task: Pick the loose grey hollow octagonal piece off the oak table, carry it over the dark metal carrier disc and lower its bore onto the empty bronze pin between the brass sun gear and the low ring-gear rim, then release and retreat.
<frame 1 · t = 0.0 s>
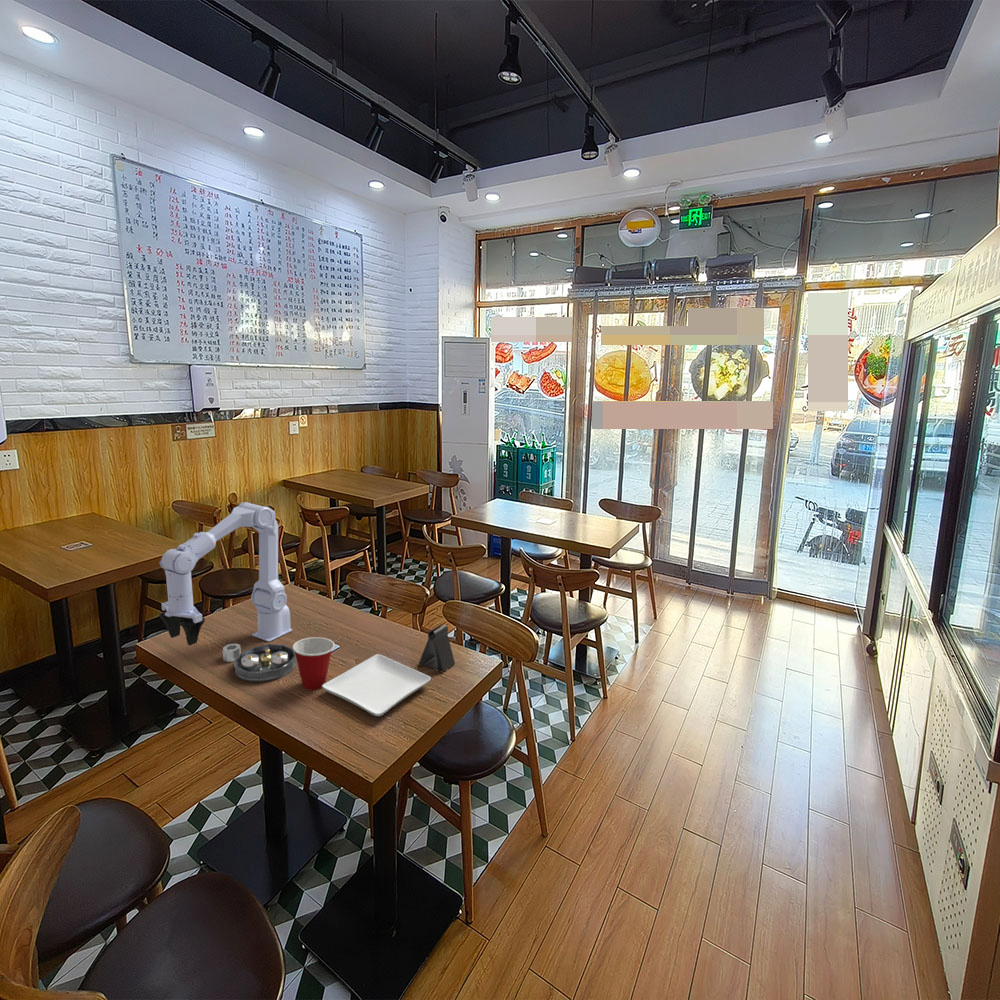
hand: (183, 639, 146), 10 cm above the table, fingers open, 7 cm apart
phone stand: (436, 665, 161), on the table
salad plate: (377, 692, 146), on the table
grey hollow octagonal piece: (232, 658, 157), on the table
plastic cup: (314, 684, 147), on the table
carrier: (266, 666, 154), on the table
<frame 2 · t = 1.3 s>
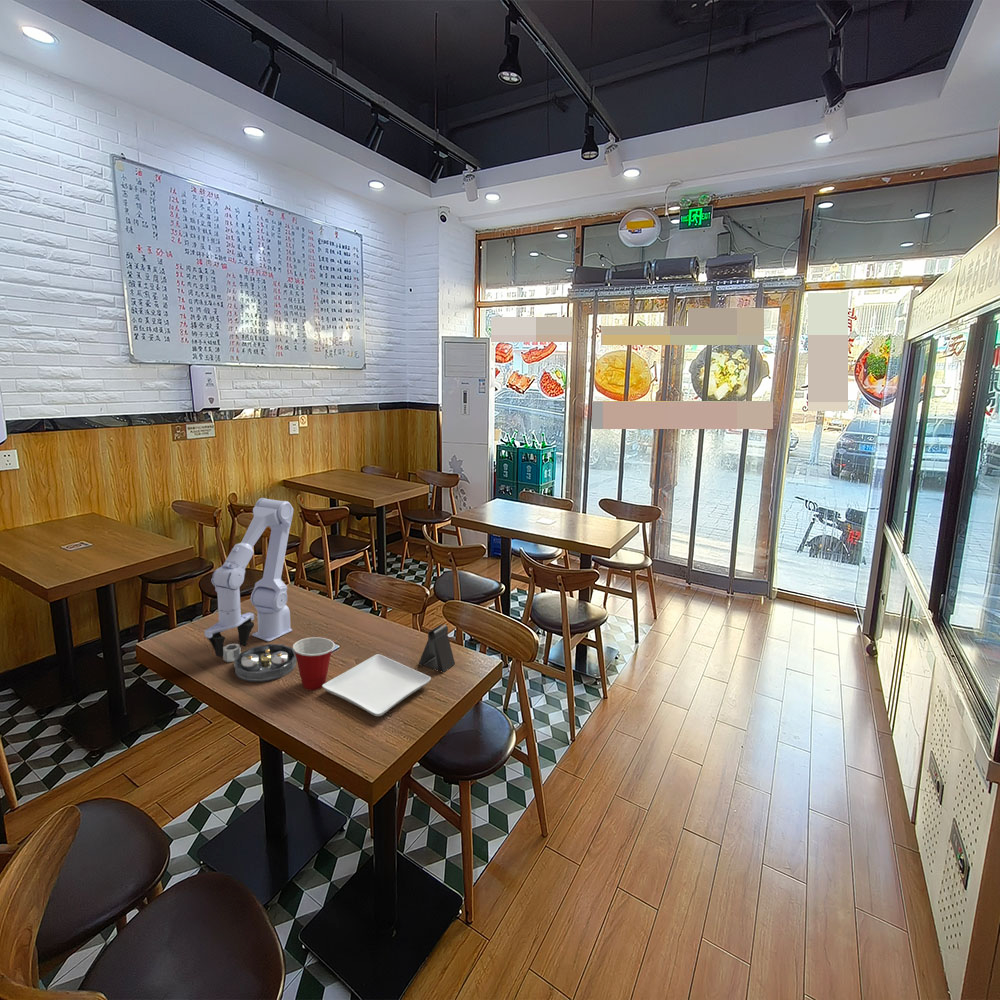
hand: (231, 650, 157), 2 cm above the table, fingers open, 7 cm apart
nothing on the table moved.
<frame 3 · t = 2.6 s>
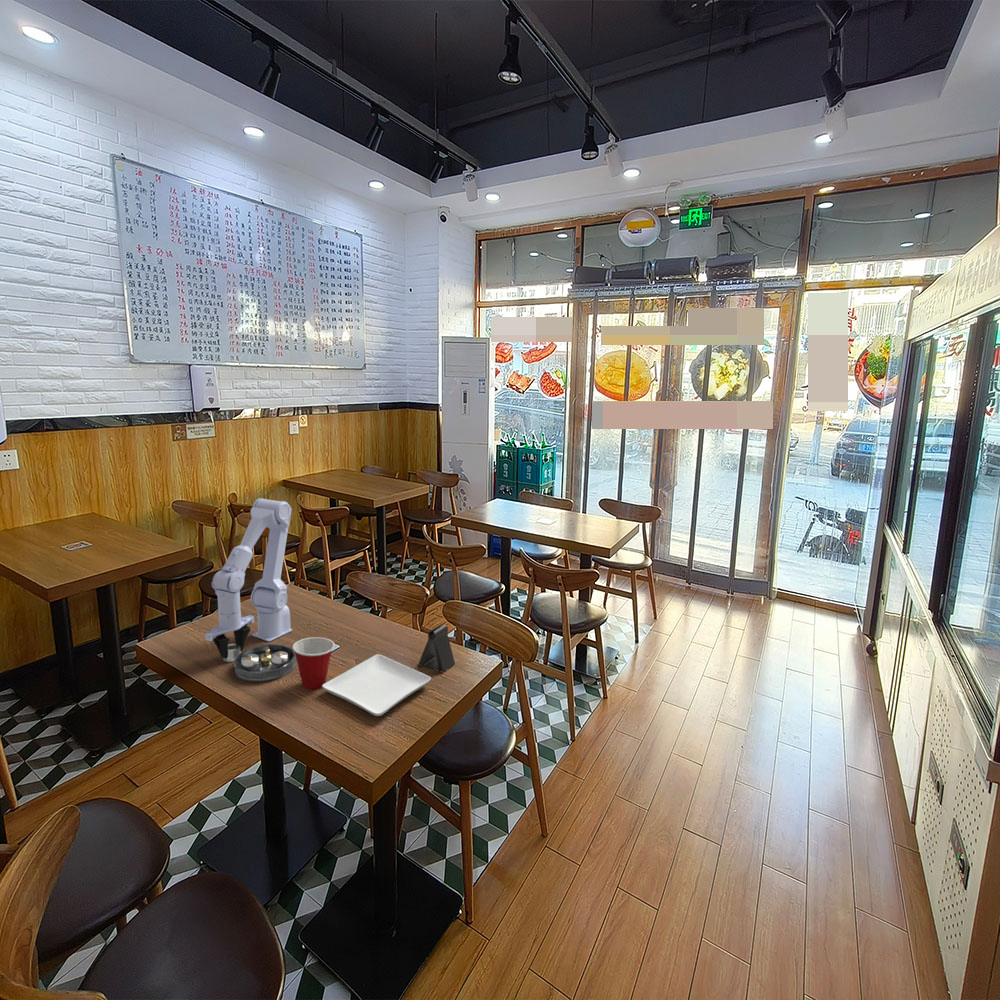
hand: (232, 653, 157), 1 cm above the table, fingers closed on grey hollow octagonal piece, 4 cm apart
grey hollow octagonal piece: (232, 658, 157), on the table, touching gripper
everything else where it was.
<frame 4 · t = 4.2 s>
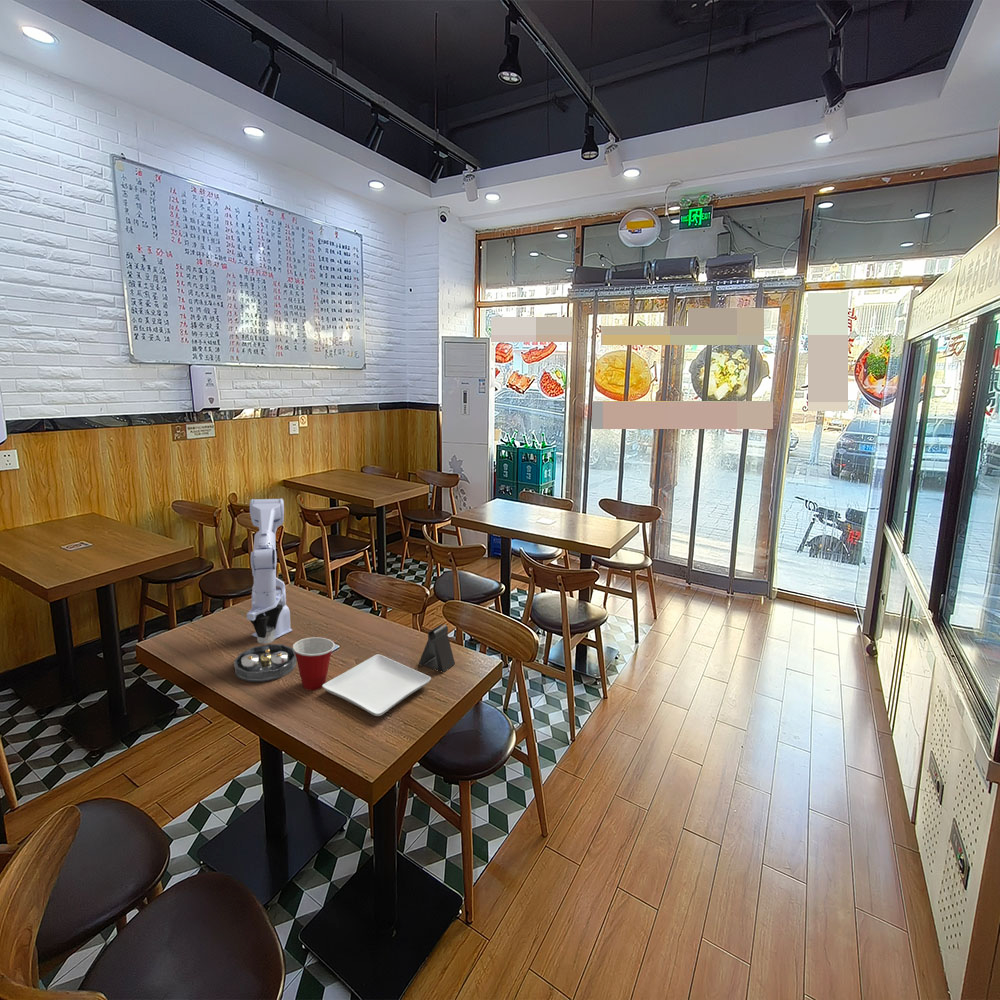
hand: (266, 633, 156), 8 cm above the table, fingers closed on grey hollow octagonal piece, 4 cm apart
grey hollow octagonal piece: (265, 639, 157), point 6 cm above the table, touching gripper
everything else where it was.
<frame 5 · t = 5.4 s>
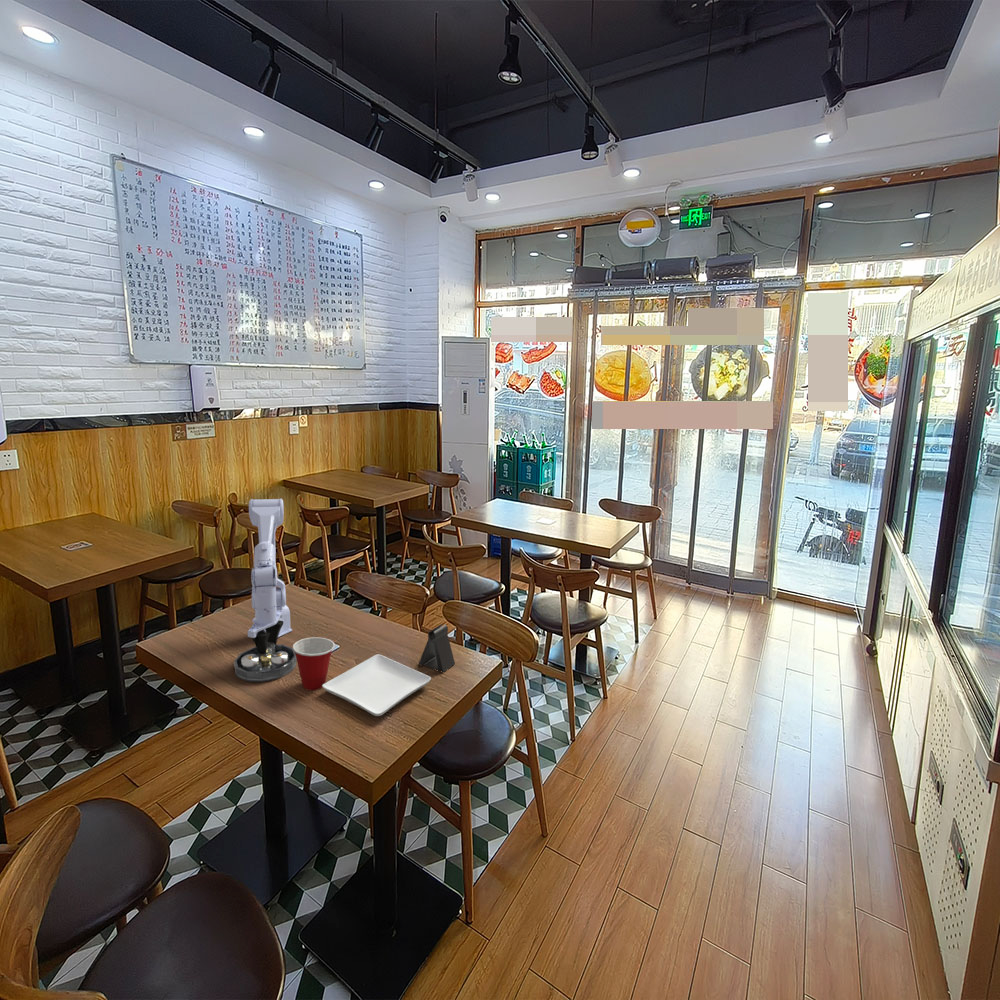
hand: (267, 649, 157), 3 cm above the table, fingers closed on grey hollow octagonal piece, 4 cm apart
grey hollow octagonal piece: (266, 655, 158), point 1 cm above the table, touching carrier, gripper
everything else where it was.
when the fingers open (3 cm above the table, at t = 6.2 s): grey hollow octagonal piece stays where it is, resting on carrier.
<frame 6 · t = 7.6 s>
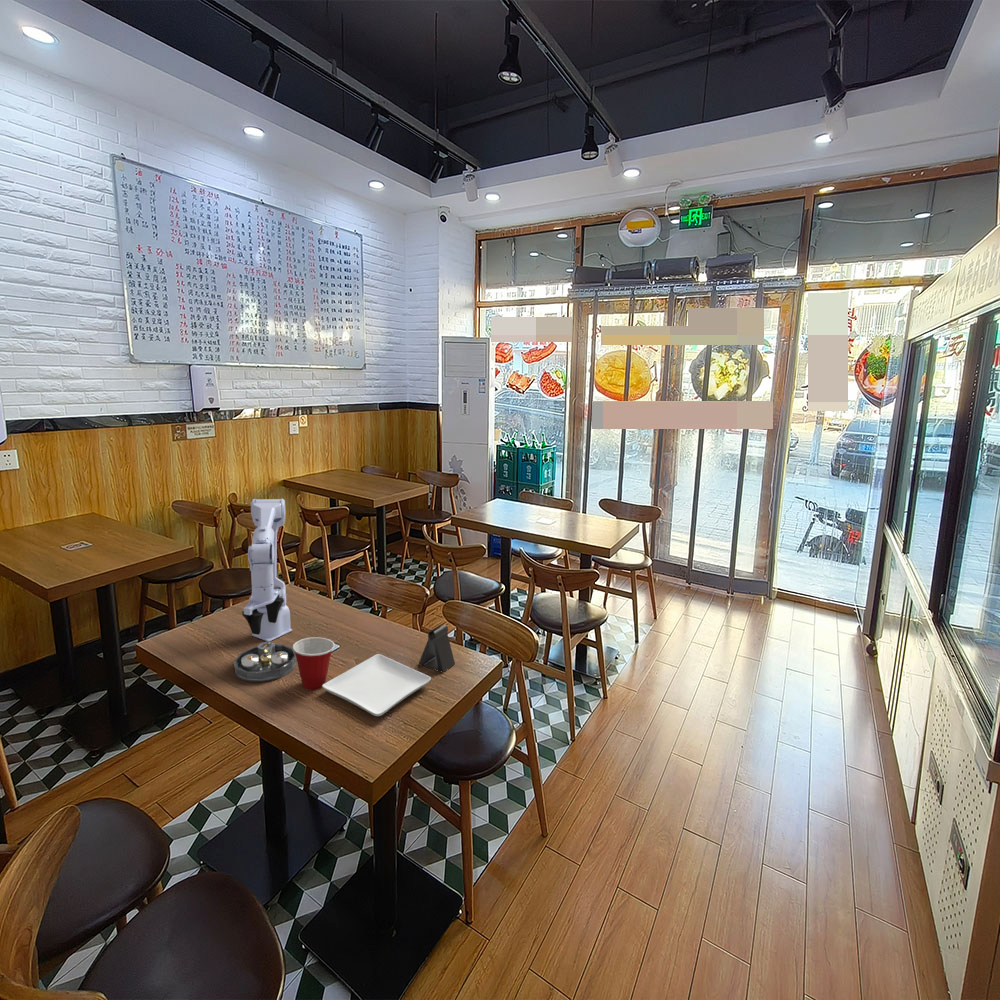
hand: (264, 627, 156), 10 cm above the table, fingers open, 7 cm apart
grey hollow octagonal piece: (266, 655, 158), point 1 cm above the table, touching carrier
everything else where it was.
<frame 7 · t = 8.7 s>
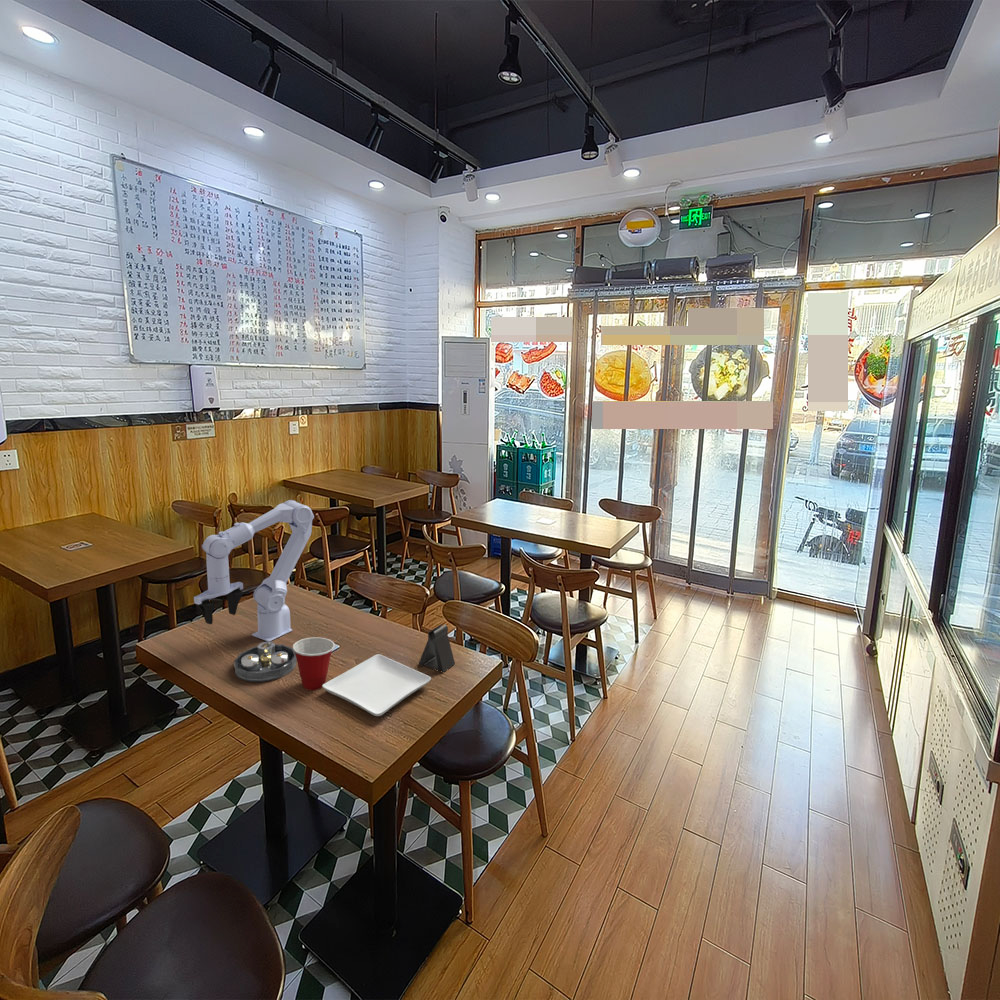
hand: (221, 618, 160), 10 cm above the table, fingers open, 7 cm apart
nothing on the table moved.
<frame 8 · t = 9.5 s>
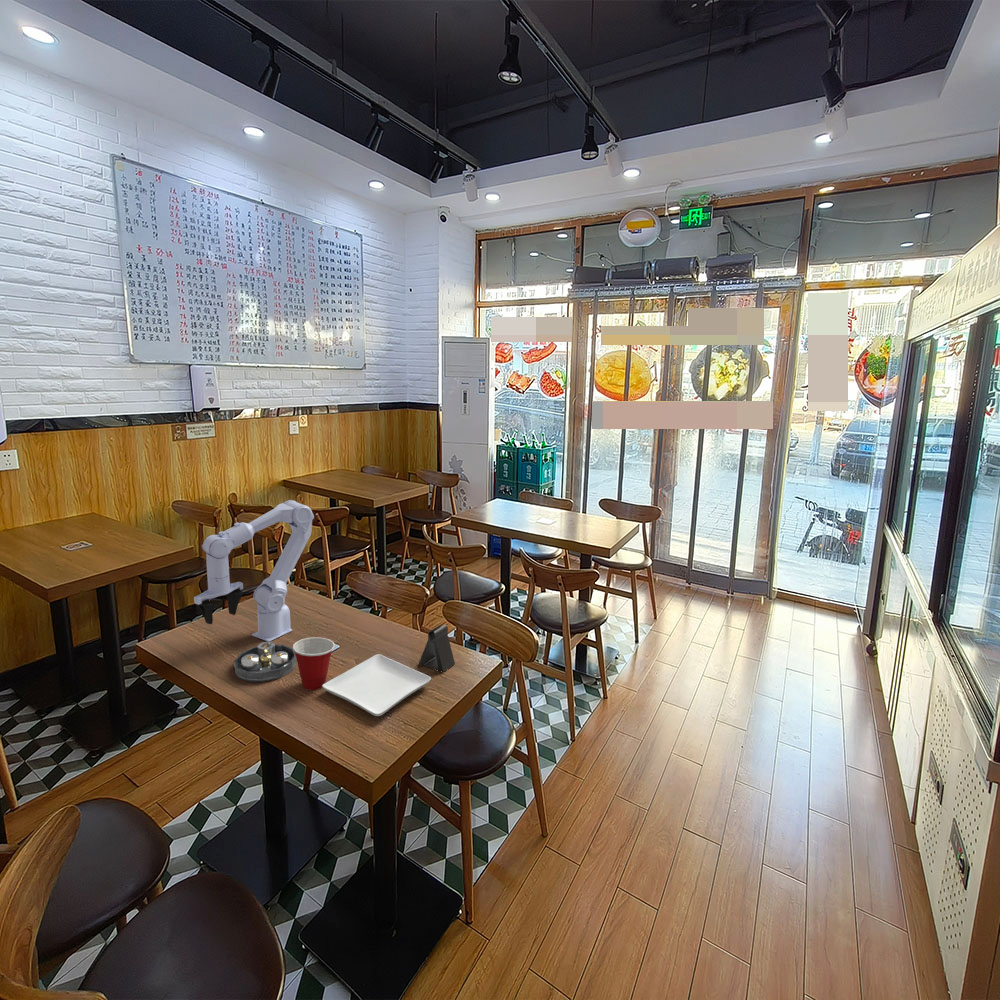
hand: (221, 618, 160), 10 cm above the table, fingers open, 7 cm apart
nothing on the table moved.
at the end: grey hollow octagonal piece 0.3 cm from the target spot on the carrier, point 1.0 cm above the carrier's base; grey hollow octagonal piece tilted 0°; the gripper is holding nothing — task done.
